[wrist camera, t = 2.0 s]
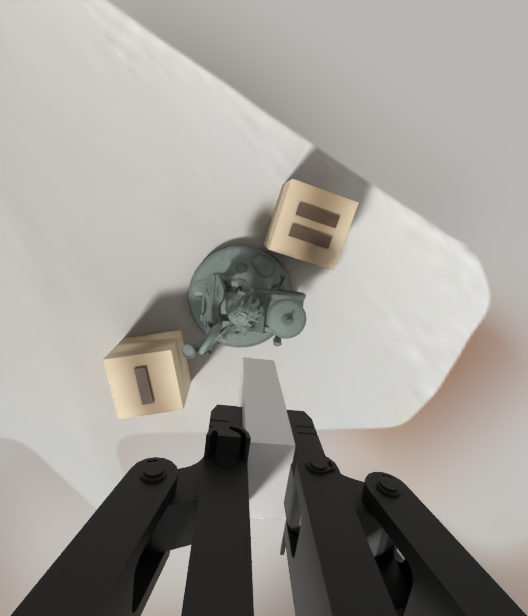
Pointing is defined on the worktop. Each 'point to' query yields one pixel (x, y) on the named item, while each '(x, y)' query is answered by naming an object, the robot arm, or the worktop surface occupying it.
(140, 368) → the marked cube
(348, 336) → the worktop surface
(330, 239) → the marked cube
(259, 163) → the worktop surface
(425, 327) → the worktop surface
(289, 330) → the figurine
